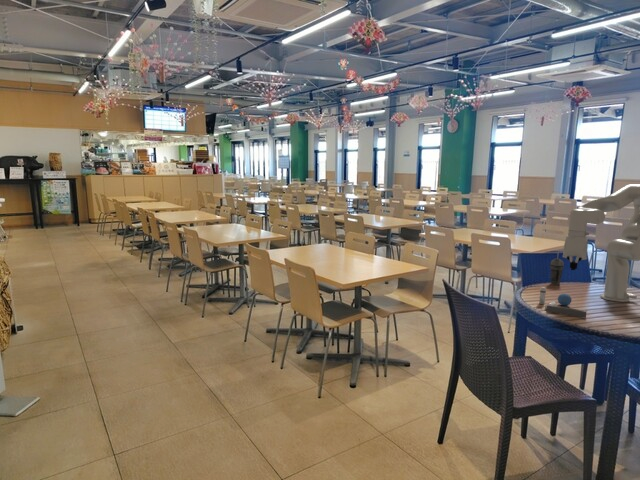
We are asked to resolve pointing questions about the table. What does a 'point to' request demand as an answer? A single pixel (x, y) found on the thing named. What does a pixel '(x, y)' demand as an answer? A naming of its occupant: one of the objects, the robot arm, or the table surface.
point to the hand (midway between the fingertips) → (573, 269)
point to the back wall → (566, 311)
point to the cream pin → (550, 304)
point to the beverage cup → (556, 270)
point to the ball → (564, 299)
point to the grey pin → (542, 295)
